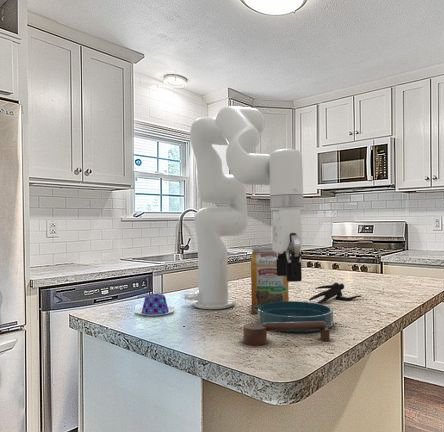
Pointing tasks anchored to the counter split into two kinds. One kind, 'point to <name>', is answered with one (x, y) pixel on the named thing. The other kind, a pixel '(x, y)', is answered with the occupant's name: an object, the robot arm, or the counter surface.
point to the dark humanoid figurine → (332, 293)
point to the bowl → (295, 313)
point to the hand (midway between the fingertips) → (288, 278)
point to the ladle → (258, 332)
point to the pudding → (155, 306)
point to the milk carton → (266, 279)
